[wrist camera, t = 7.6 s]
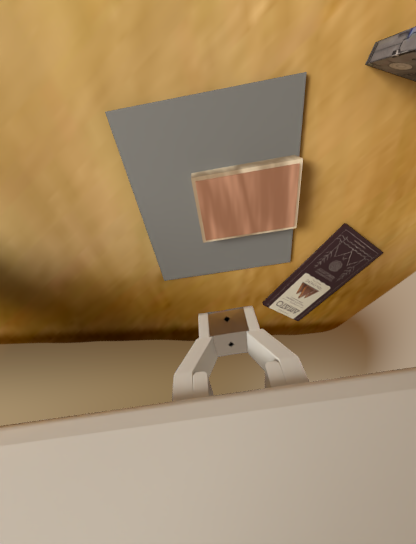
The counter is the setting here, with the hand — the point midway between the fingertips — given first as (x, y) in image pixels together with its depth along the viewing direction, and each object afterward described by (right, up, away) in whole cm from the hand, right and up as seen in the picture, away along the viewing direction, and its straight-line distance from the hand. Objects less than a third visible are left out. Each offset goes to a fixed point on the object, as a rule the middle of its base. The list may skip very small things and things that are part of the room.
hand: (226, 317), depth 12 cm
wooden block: (-2, +10, +15) cm, 18 cm away
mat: (0, +12, +16) cm, 20 cm away
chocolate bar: (+17, +2, +25) cm, 31 cm away
